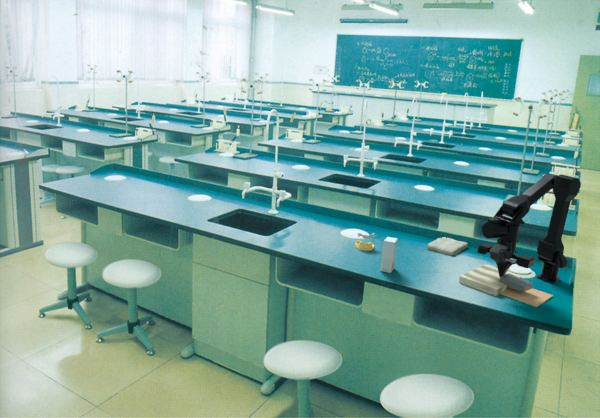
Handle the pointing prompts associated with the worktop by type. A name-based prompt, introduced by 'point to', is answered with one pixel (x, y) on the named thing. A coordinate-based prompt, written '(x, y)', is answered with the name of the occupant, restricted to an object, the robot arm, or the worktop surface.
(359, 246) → the dental model
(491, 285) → the cream wavy flat block
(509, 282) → the grey rectangular block
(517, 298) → the mat
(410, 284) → the worktop surface
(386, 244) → the skincare box
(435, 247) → the washcloth
